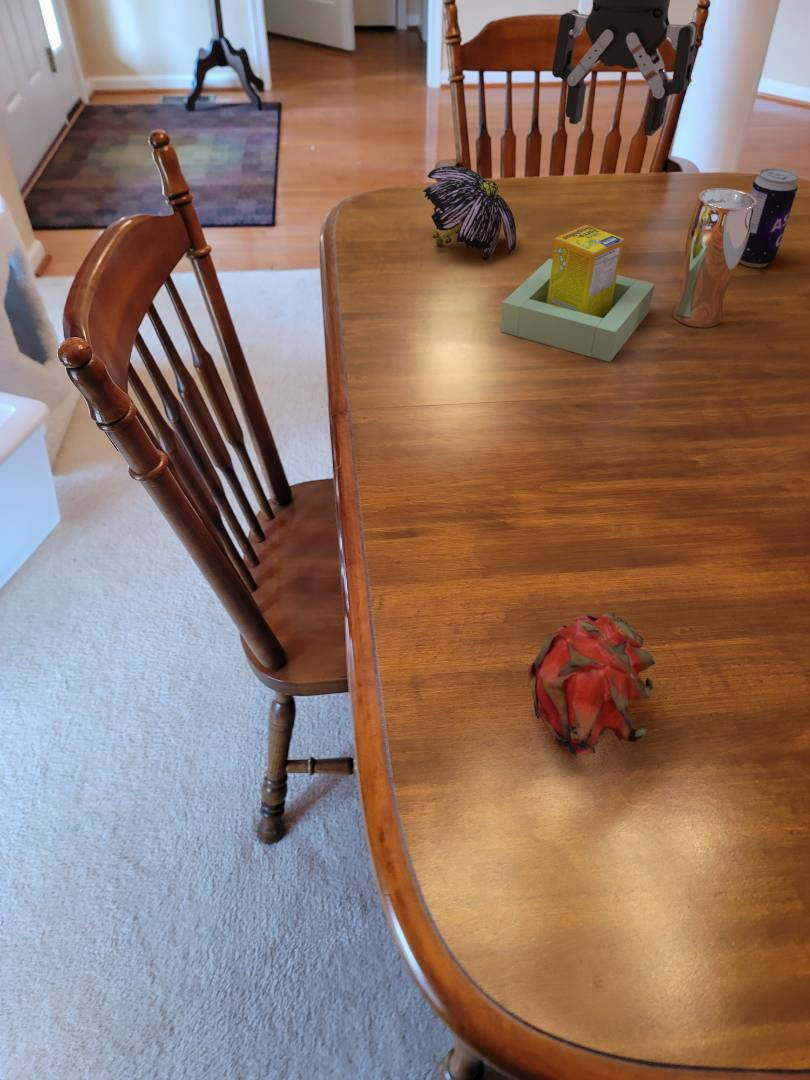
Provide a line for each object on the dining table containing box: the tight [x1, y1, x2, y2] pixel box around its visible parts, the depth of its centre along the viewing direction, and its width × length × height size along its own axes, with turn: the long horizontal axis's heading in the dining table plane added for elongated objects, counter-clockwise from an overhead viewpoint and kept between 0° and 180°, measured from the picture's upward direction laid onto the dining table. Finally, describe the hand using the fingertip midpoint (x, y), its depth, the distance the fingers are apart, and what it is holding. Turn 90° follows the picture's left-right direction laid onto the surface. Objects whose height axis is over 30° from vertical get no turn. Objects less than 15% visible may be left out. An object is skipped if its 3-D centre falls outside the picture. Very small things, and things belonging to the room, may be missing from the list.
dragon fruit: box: [527, 612, 656, 758], centre depth 59 cm, size 8×8×12 cm
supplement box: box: [547, 224, 624, 318], centre depth 102 cm, size 6×6×11 cm
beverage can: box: [739, 167, 799, 268], centre depth 115 cm, size 6×6×12 cm
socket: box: [499, 258, 656, 363], centre depth 104 cm, size 14×14×4 cm
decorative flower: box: [422, 165, 517, 262], centre depth 119 cm, size 15×12×15 cm
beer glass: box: [672, 187, 757, 329], centre depth 102 cm, size 7×7×15 cm
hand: (611, 127), depth 91 cm, fingers open, 8 cm apart
